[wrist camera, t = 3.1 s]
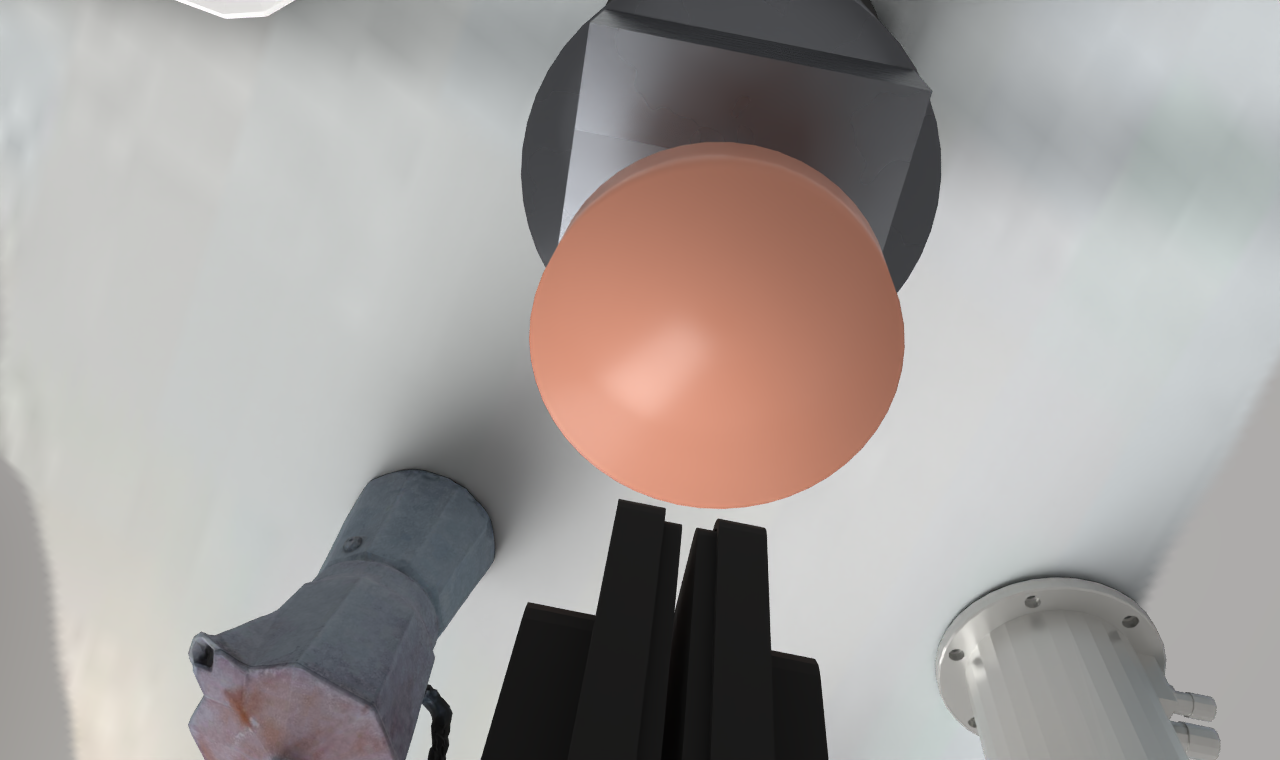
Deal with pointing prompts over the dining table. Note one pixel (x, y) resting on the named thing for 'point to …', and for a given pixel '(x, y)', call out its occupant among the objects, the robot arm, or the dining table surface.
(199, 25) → the dining table surface
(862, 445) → the pink rounded piece
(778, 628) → the dining table surface
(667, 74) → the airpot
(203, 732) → the moka pot
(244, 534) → the dining table surface
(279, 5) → the plate
